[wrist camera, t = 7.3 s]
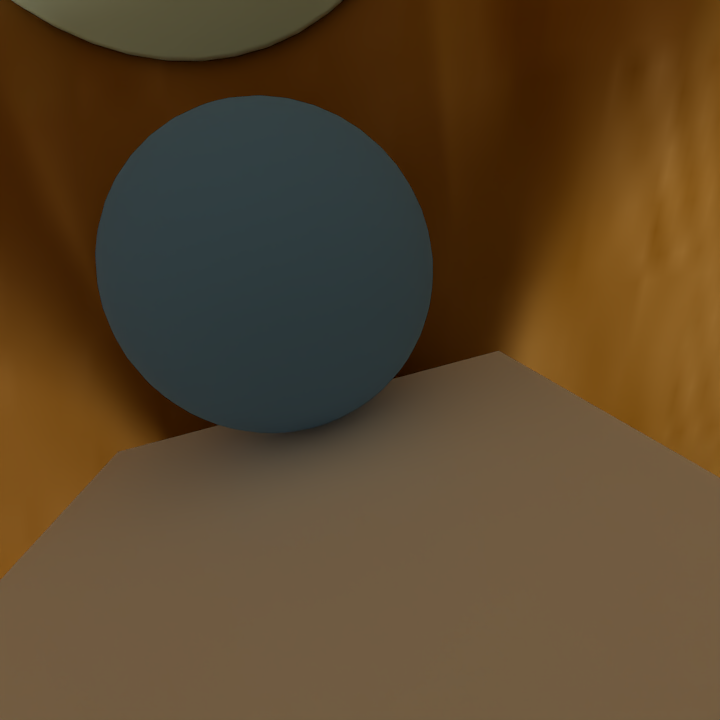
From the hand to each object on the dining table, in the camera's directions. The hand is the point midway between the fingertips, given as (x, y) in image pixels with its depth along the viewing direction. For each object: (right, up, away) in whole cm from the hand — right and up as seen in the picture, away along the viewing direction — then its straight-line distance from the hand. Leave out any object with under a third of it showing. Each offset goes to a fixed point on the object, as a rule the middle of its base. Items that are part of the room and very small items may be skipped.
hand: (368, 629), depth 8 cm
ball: (-1, +6, -1) cm, 6 cm away
